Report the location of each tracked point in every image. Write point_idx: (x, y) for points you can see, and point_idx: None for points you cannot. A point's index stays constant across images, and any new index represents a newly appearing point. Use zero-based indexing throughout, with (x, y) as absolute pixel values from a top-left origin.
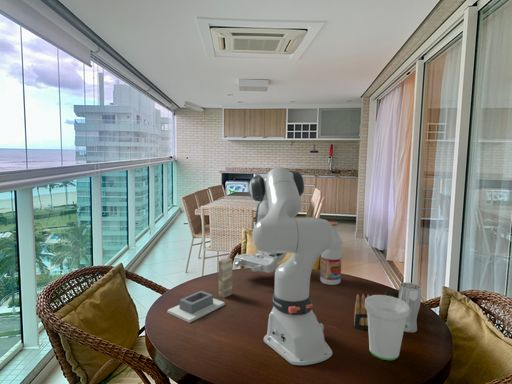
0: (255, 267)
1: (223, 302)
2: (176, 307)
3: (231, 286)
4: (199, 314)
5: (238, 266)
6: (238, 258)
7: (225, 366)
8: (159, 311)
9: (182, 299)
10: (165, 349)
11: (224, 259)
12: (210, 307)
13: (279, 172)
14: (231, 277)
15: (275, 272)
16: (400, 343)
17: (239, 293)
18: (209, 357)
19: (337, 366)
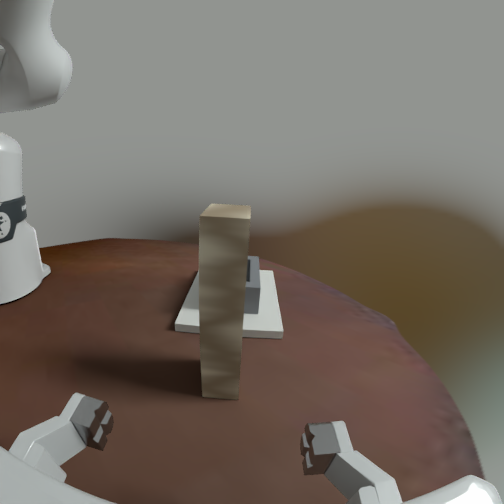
0: (64, 411)
1: (177, 322)
2: (267, 278)
3: (201, 364)
4: (197, 277)
5: (303, 462)
6: (423, 496)
7: (96, 245)
8: (289, 275)
9: (254, 258)
10: (183, 244)
11: (241, 212)
12: (194, 297)
13: None
14: (200, 322)
15: (21, 150)
16: None
17: (173, 414)
18: (120, 247)
19: None
